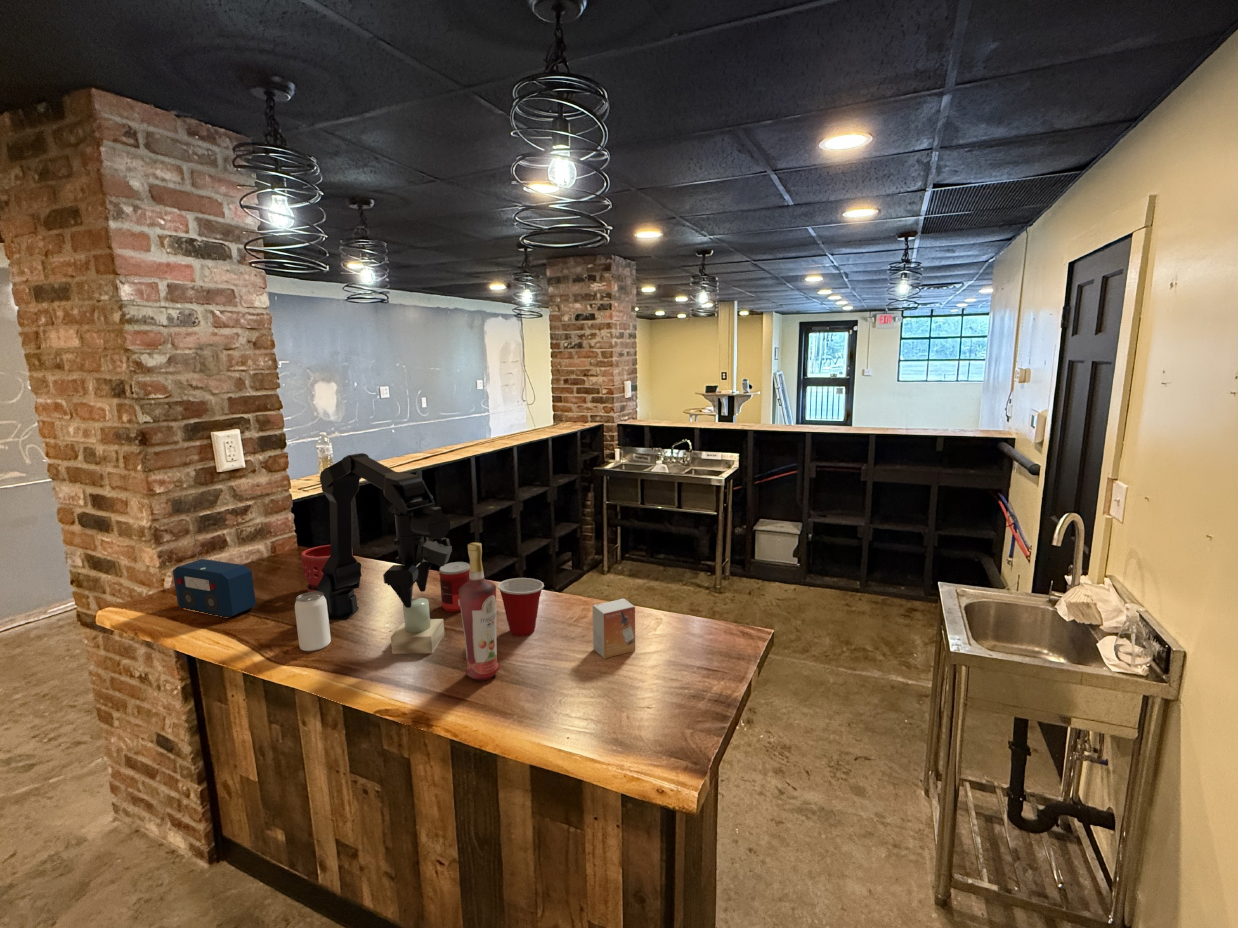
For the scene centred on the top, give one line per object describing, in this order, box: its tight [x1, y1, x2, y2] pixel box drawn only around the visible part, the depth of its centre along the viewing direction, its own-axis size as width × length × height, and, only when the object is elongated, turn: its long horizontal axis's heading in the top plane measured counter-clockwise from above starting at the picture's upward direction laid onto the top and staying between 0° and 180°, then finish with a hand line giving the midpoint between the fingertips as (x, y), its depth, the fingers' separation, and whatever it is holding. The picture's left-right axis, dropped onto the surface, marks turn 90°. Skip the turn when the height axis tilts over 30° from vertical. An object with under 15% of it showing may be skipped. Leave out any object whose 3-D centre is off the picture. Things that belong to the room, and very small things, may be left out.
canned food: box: [439, 561, 470, 613], centre depth 156 cm, size 8×8×11 cm
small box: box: [592, 598, 636, 659], centre depth 131 cm, size 8×6×10 cm
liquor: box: [459, 542, 501, 681], centre depth 120 cm, size 7×7×28 cm
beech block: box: [390, 618, 445, 655], centre depth 136 cm, size 9×9×4 cm
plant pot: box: [300, 544, 354, 593], centre depth 169 cm, size 13×13×12 cm
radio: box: [172, 535, 257, 618], centre depth 156 cm, size 21×9×20 cm, turn 69°
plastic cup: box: [497, 577, 545, 637], centre depth 141 cm, size 11×11×12 cm
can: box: [294, 591, 332, 653], centre depth 136 cm, size 6×6×12 cm
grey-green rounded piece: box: [402, 597, 431, 633], centre depth 135 cm, size 6×6×6 cm
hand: (415, 599), depth 135 cm, fingers open, 9 cm apart
